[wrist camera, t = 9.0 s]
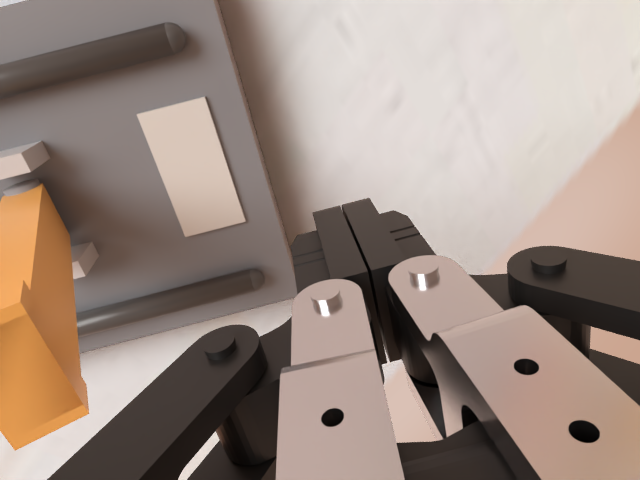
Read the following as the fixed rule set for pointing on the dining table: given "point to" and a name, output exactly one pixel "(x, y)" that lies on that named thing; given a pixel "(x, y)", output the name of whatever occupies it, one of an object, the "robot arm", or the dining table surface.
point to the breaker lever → (36, 319)
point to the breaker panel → (142, 161)
